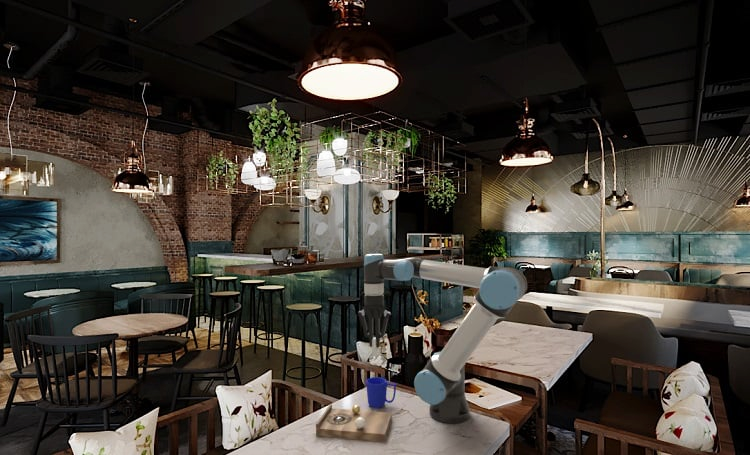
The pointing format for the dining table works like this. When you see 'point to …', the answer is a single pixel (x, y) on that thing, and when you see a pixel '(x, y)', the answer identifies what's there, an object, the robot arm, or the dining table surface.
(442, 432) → the dining table surface
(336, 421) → the steel ball
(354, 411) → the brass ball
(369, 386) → the mug
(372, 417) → the deck
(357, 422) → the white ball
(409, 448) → the dining table surface
